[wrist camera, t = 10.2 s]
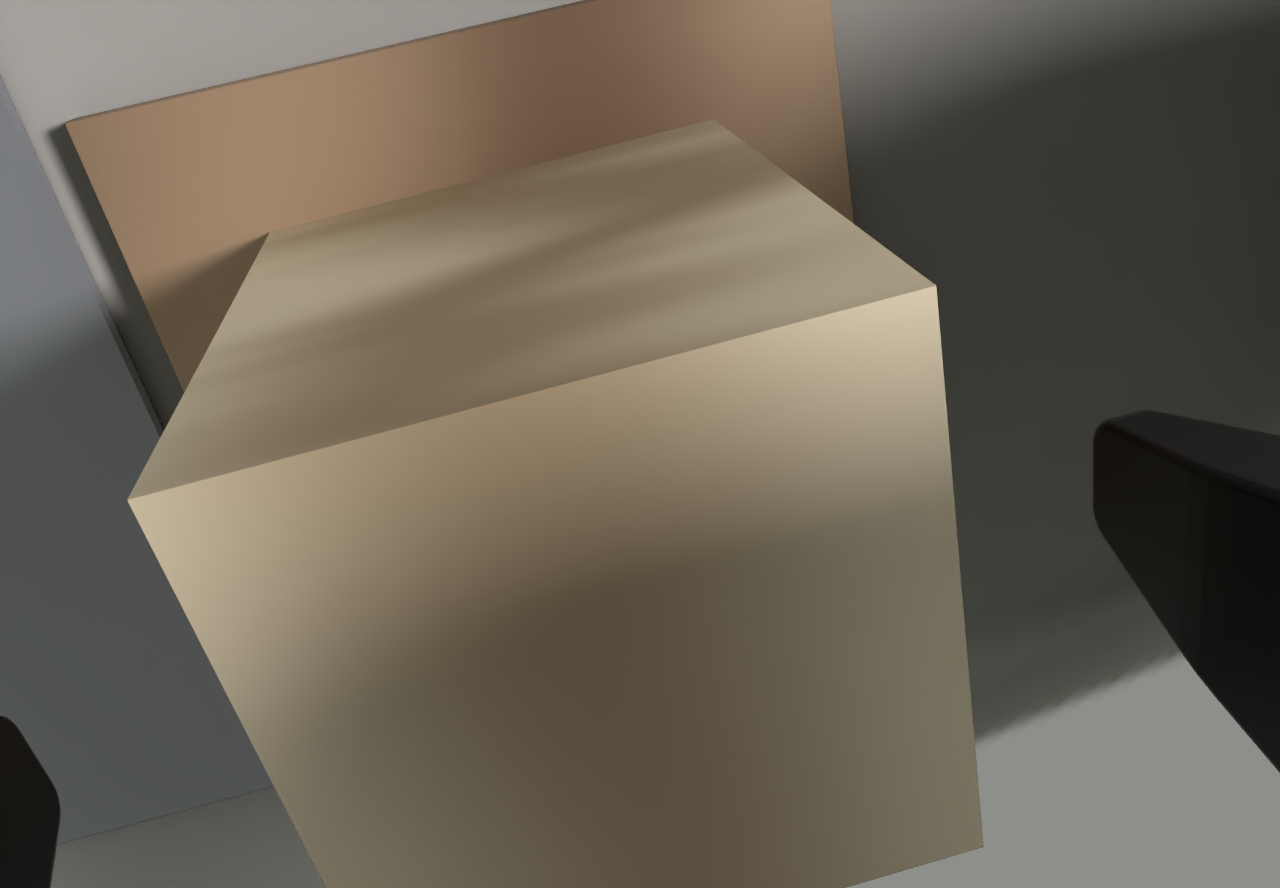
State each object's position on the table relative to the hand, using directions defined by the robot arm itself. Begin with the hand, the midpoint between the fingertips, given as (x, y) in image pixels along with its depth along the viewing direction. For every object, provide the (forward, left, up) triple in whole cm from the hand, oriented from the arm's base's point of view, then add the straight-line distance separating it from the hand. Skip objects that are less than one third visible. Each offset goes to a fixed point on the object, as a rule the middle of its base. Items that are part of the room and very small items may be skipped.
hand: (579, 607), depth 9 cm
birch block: (0, 0, -5) cm, 5 cm away
